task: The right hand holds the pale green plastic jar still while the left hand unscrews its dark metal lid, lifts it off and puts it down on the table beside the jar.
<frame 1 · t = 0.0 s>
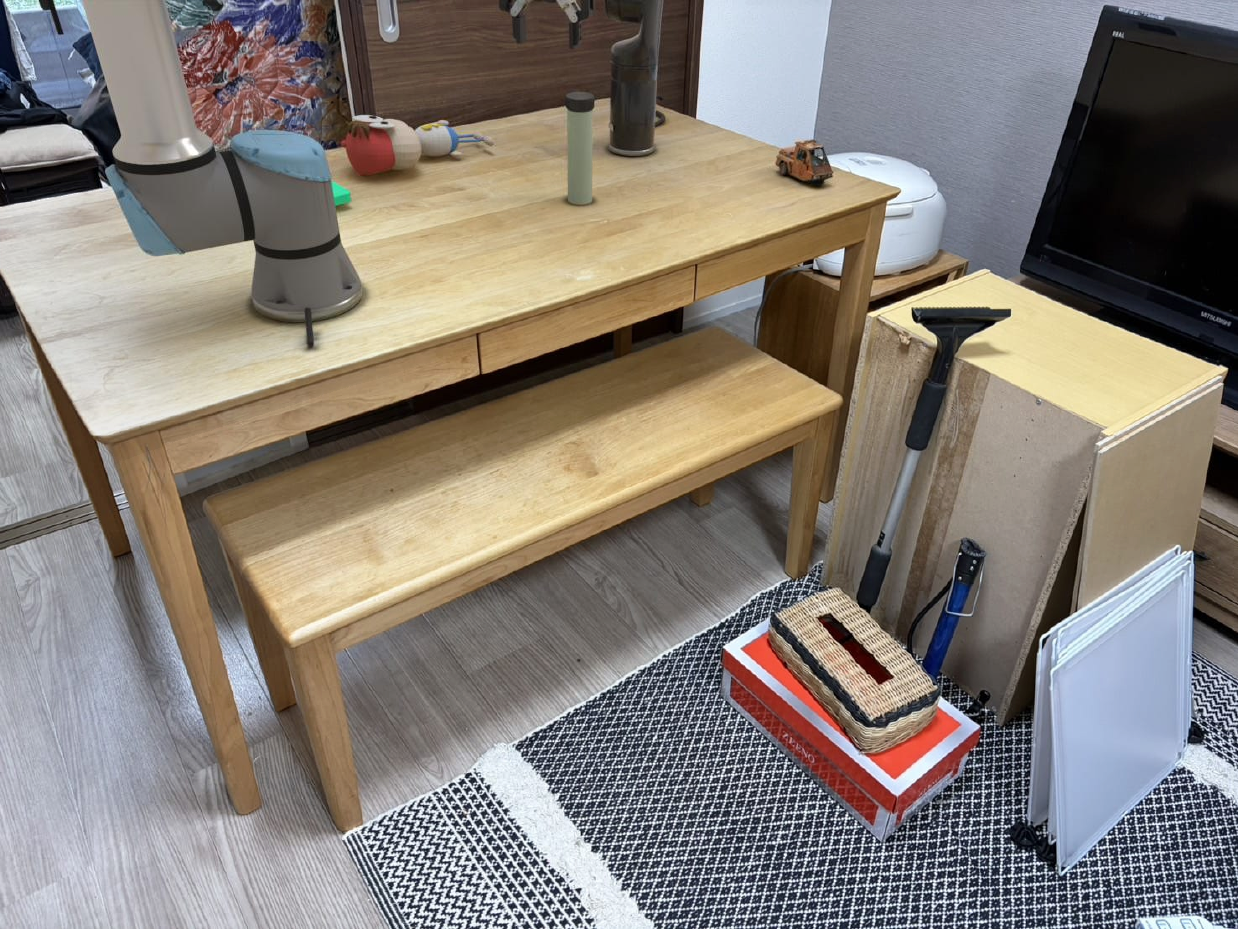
left hand: (108, 29, 146), 28 cm above the table, tool pointing down, fingers open, 13 cm apart
right hand: (547, 45, 140), 29 cm above the table, tool pointing down, fingers open, 8 cm apart
lid: (580, 97, 157), point 18 cm above the table, screwed on, not yet turned
jar: (580, 200, 168), on the table
toy: (420, 162, 182), on the table
toy car: (802, 178, 180), on the table
camera mount: (318, 203, 164), on the table
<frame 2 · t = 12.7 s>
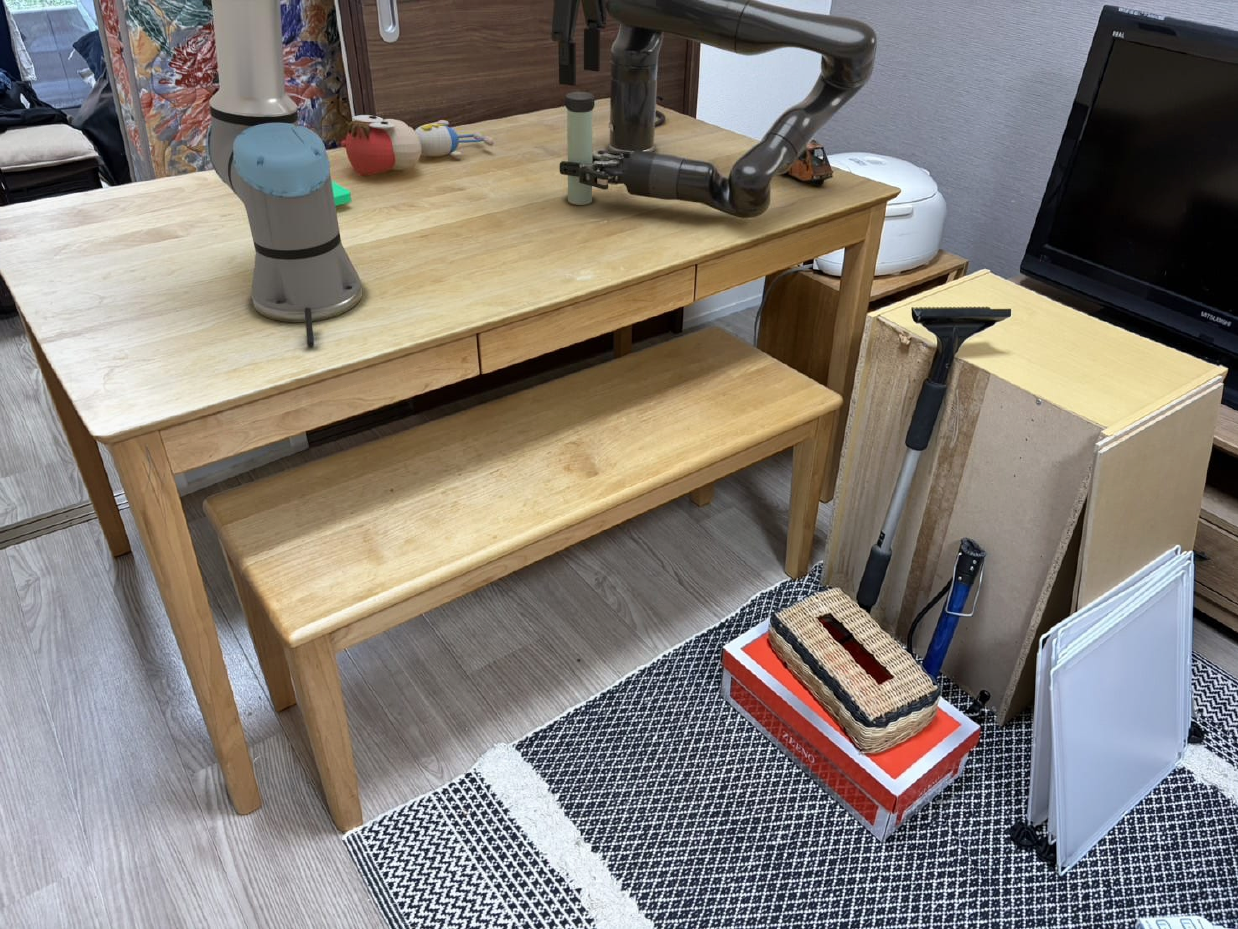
left hand: (579, 77, 155), 21 cm above the table, tool pointing down, fingers open, 9 cm apart
right hand: (565, 162, 165), 7 cm above the table, tool horizontal, fingers closed on jar, 4 cm apart
jar: (580, 200, 168), on the table, touching right hand
everything else where it was.
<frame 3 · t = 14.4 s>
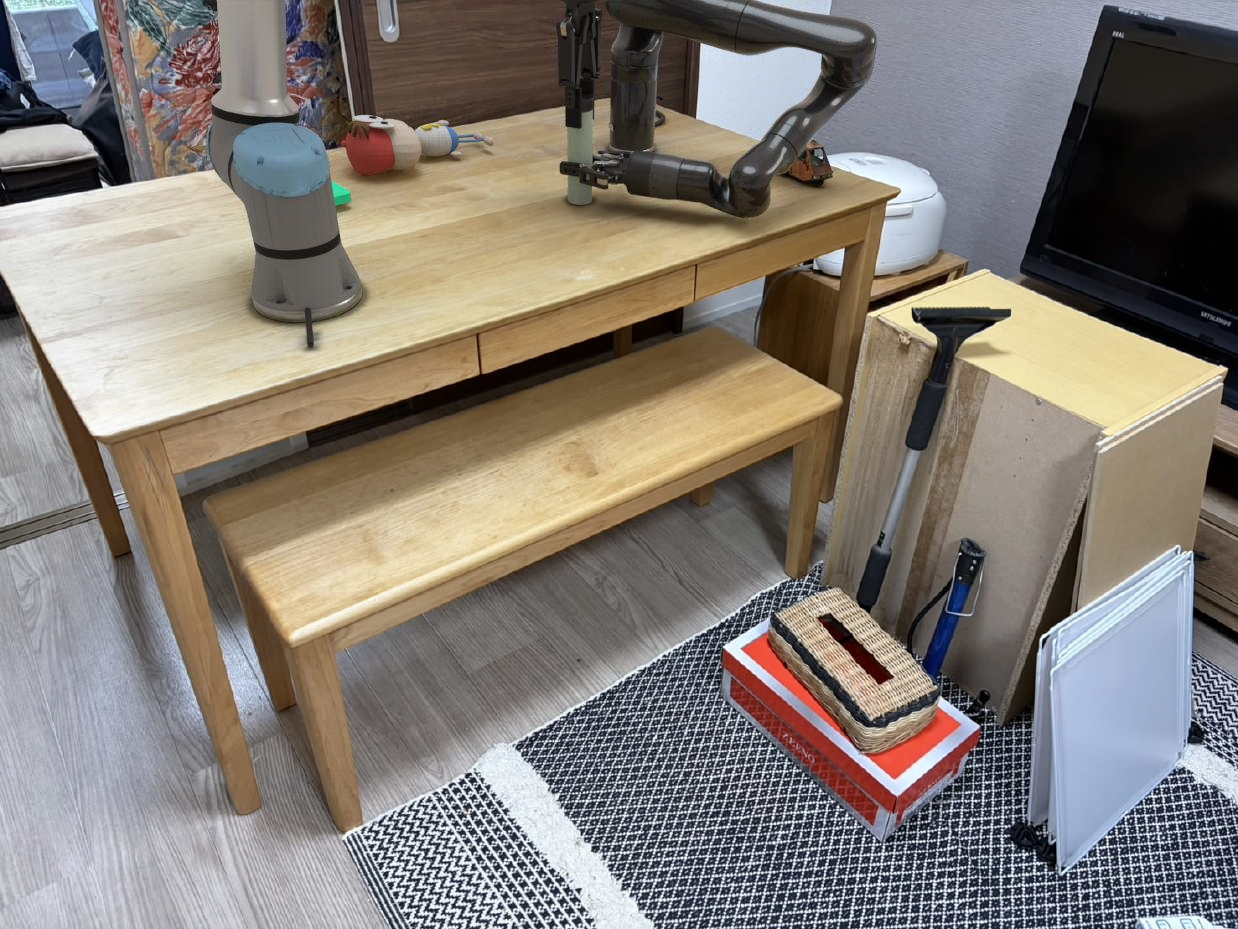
left hand: (580, 122, 160), 14 cm above the table, tool pointing down, fingers closed on lid, 5 cm apart
right hand: (565, 162, 165), 7 cm above the table, tool horizontal, fingers closed on jar, 4 cm apart
lid: (579, 97, 157), point 18 cm above the table, screwed on, not yet turned, touching left hand
jar: (580, 200, 168), on the table, touching right hand
everything else where it was.
when the left hand's fingers open (14 cm above the table, at t = 15.7 s): lid stays where it is, point 18 cm above the table.
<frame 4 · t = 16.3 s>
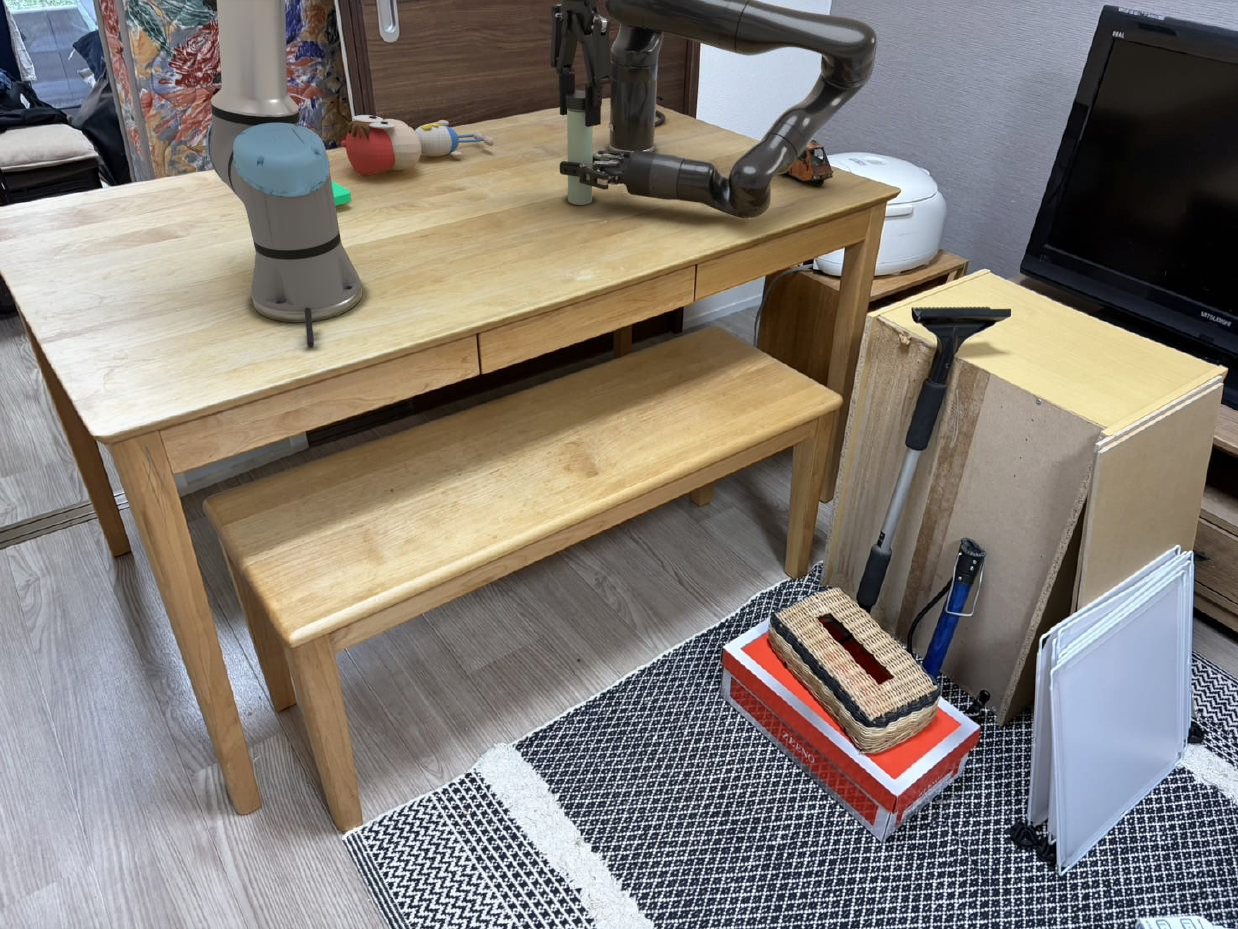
left hand: (580, 119, 160), 14 cm above the table, tool pointing down, fingers open, 7 cm apart
right hand: (566, 162, 165), 7 cm above the table, tool horizontal, fingers closed on jar, 4 cm apart
lid: (580, 96, 157), point 18 cm above the table, turned 106° so far, risen 0.2 cm, still on its thread
jar: (580, 200, 168), on the table, touching right hand
everything else where it was.
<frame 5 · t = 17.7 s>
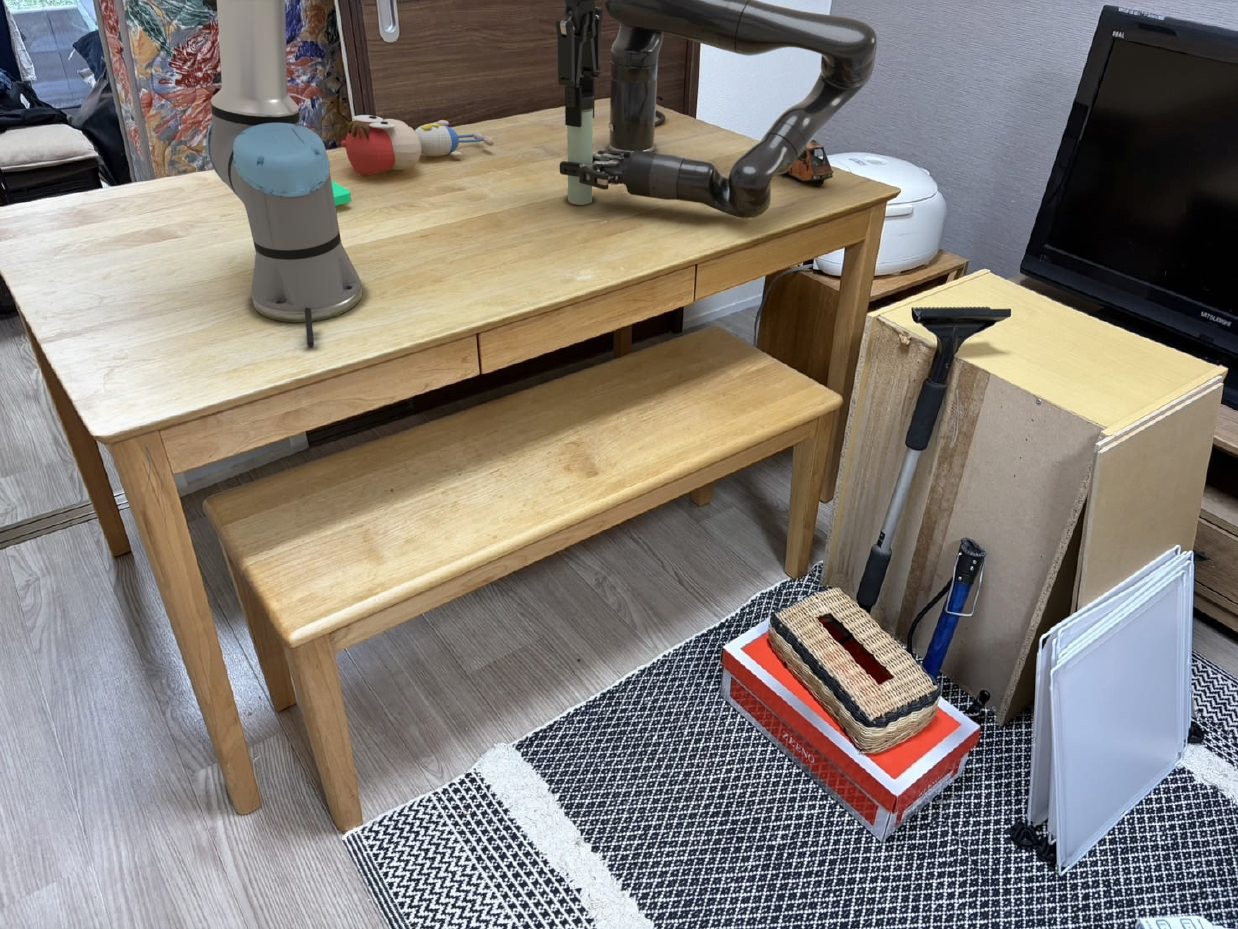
left hand: (580, 120, 160), 14 cm above the table, tool pointing down, fingers closed on lid, 5 cm apart
right hand: (566, 162, 165), 7 cm above the table, tool horizontal, fingers closed on jar, 4 cm apart
lid: (580, 96, 157), point 18 cm above the table, turned 106° so far, risen 0.2 cm, still on its thread, touching left hand
jar: (580, 200, 168), on the table, touching right hand
everything else where it was.
when the left hand's fingers open (0 cm above the table, at t = 24.3 s): lid drops 3 cm, point 2 cm above the table.
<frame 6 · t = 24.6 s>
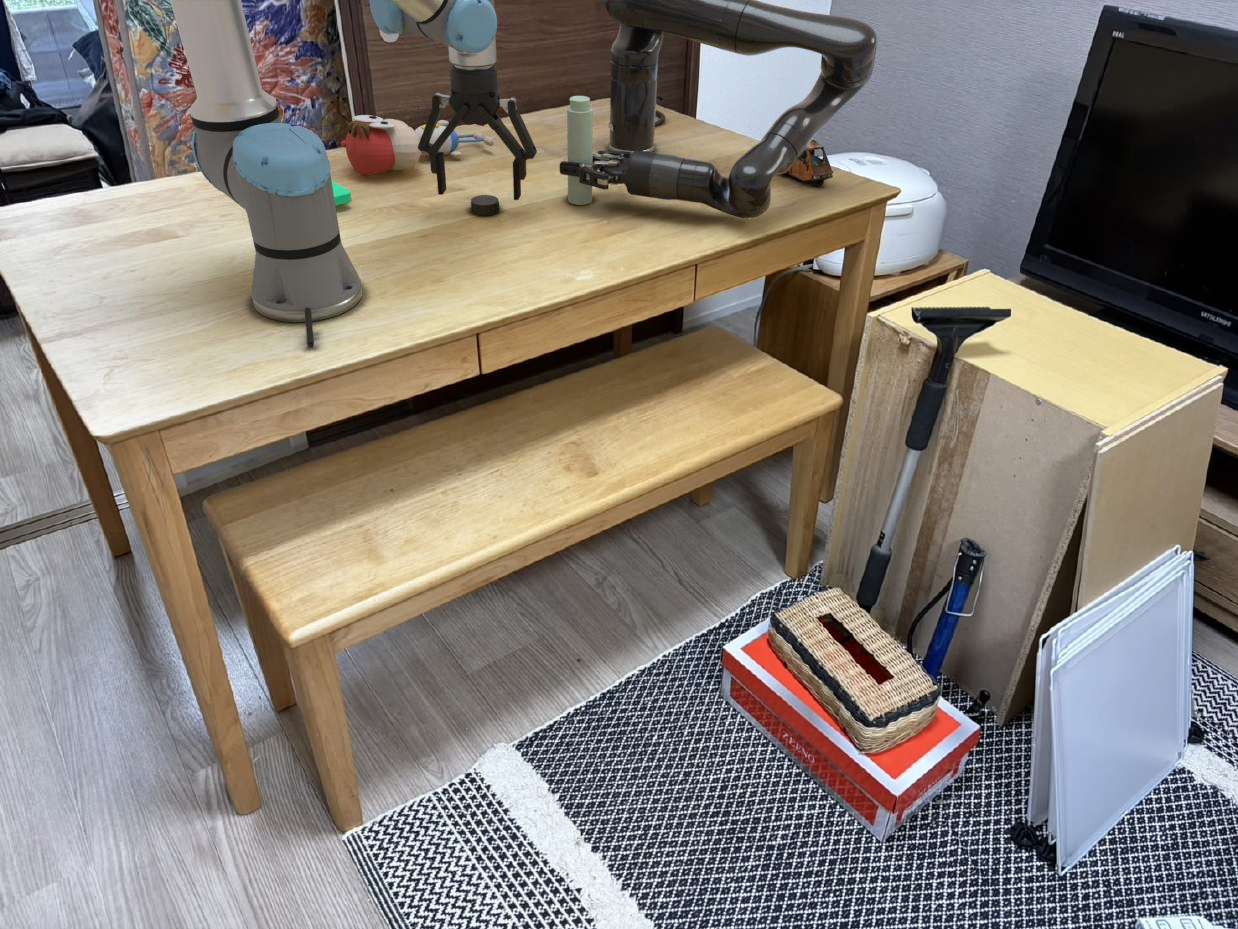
left hand: (479, 194, 161), 3 cm above the table, tool pointing down, fingers open, 13 cm apart
right hand: (566, 162, 165), 7 cm above the table, tool horizontal, fingers closed on jar, 4 cm apart
lid: (484, 201, 162), point 2 cm above the table, off its thread
jar: (580, 200, 168), on the table, touching right hand
everything else where it was.
when the right hand's fingers open (7 cm above the table, at t = 24.9 s): jar stays where it is, on the table.
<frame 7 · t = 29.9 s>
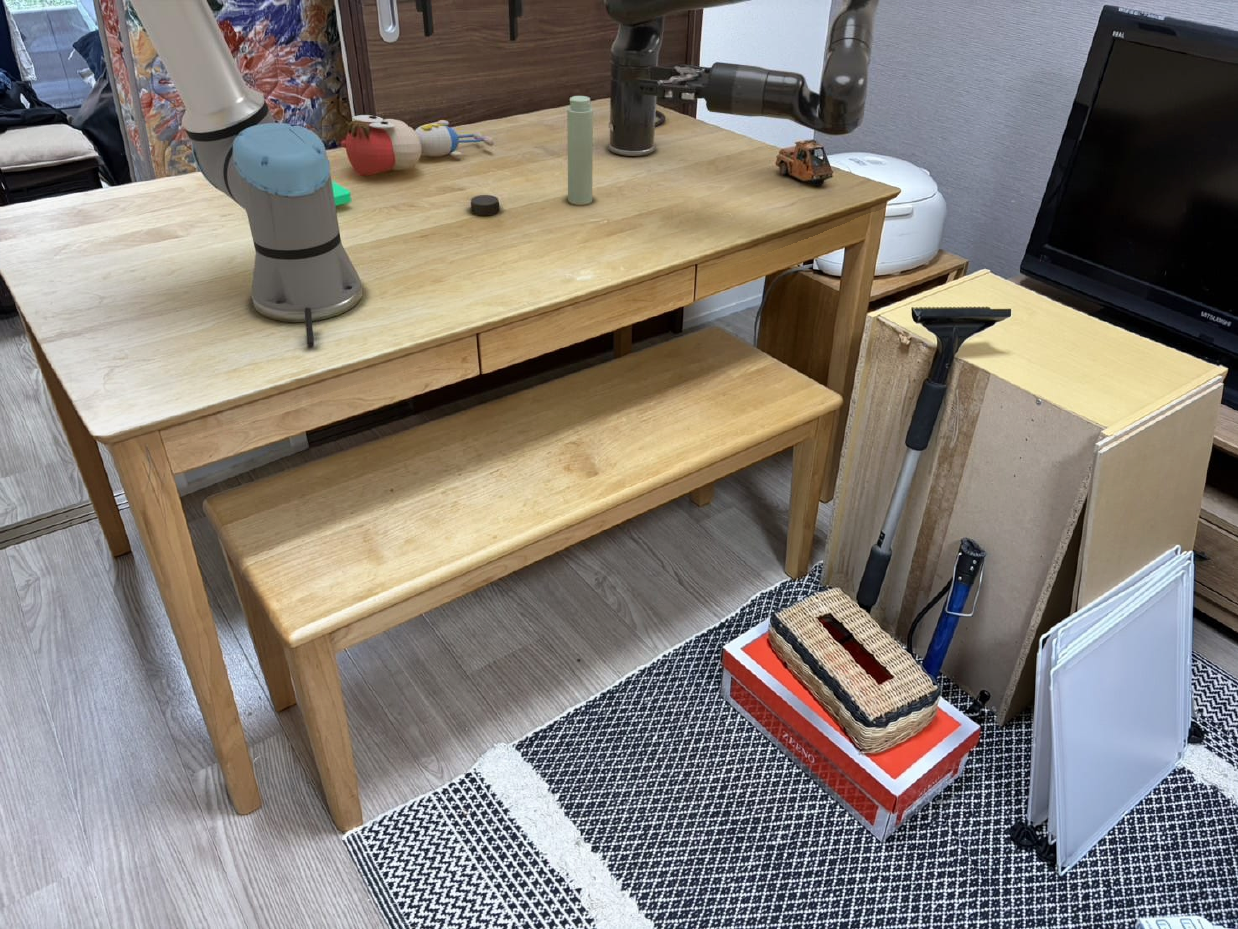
left hand: (471, 37, 146), 28 cm above the table, tool pointing down, fingers open, 13 cm apart
right hand: (643, 78, 152), 22 cm above the table, tool horizontal, fingers open, 8 cm apart
jar: (580, 200, 168), on the table
everything else where it was.
at the end: lid came off its thread; lid point 1.6 cm above the table; the left hand is holding nothing; the right hand is holding nothing; jar tilted 0°; jar moved 0.0 cm from its start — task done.
